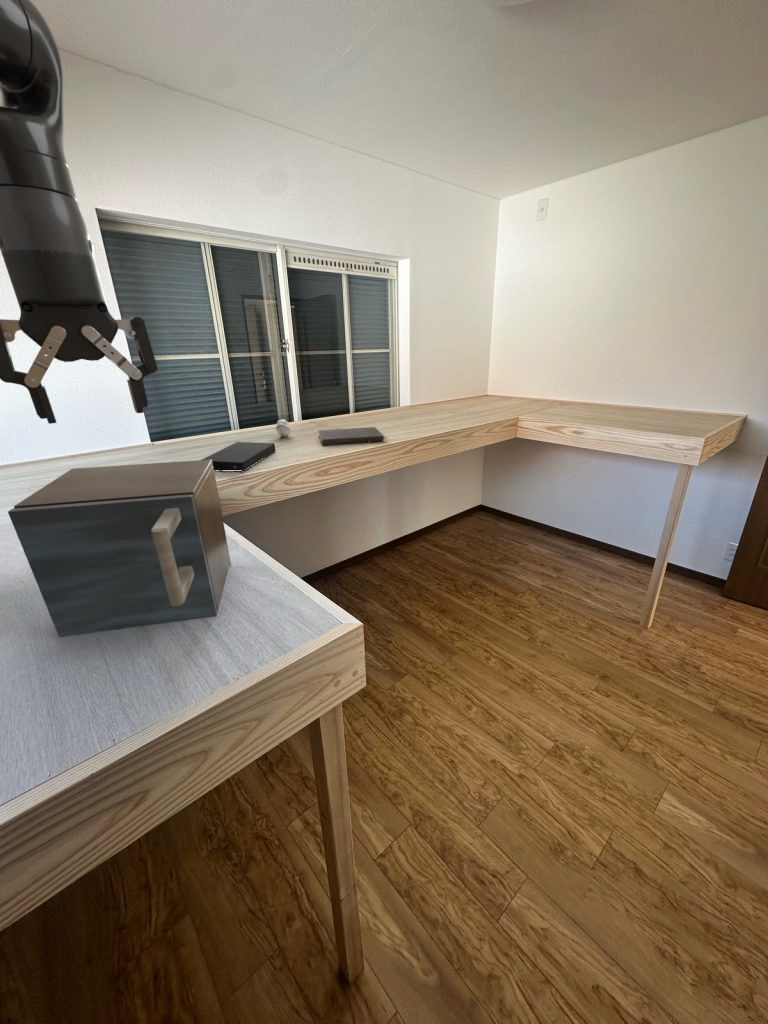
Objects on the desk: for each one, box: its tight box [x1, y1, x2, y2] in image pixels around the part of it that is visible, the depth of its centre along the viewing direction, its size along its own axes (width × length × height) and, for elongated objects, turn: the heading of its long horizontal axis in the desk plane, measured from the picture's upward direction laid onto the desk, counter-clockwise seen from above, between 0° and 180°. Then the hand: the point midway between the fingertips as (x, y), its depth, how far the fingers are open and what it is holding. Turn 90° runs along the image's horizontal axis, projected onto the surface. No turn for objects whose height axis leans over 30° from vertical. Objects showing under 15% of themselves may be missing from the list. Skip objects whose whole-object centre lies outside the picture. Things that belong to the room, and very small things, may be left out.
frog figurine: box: [275, 418, 292, 438], centre depth 164 cm, size 6×7×7 cm
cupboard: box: [13, 459, 232, 611], centre depth 62 cm, size 15×20×20 cm
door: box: [7, 494, 219, 638], centre depth 51 cm, size 8×20×20 cm, turn 102°
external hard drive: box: [201, 441, 276, 472], centre depth 135 cm, size 14×23×3 cm, turn 170°
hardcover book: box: [317, 426, 385, 446], centre depth 160 cm, size 16×23×2 cm
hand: (98, 417), depth 48 cm, fingers open, 8 cm apart
